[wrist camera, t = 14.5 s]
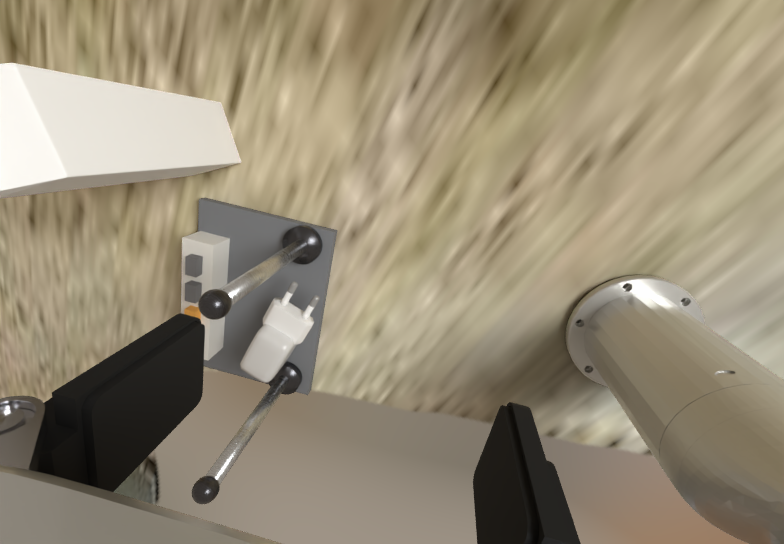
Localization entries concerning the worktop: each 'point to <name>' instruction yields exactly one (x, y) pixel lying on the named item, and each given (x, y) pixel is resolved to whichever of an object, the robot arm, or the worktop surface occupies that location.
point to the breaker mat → (237, 256)
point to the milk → (102, 133)
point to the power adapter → (277, 336)
